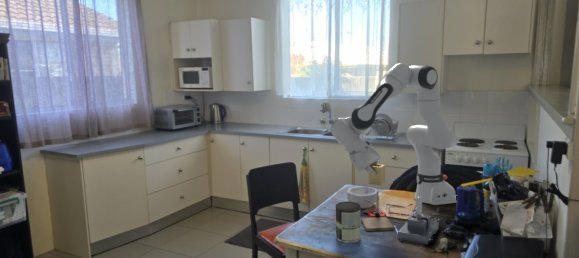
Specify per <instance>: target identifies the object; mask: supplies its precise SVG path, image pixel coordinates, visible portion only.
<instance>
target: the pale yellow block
mask: <svg viewBox="0 0 579 258" xmlns="http://www.w3.org/2000/svg"><path fill="white" fill-rule="evenodd" d="M370 167H371V169H373V170H375V171H376V172H377V174H376V175H375V176H372V174H371V173H369V172H368V184H369V185H374V186H382V185H383V184H385V183H386V164H382V163H379V164H375V163H373V164H371V165H370Z"/></svg>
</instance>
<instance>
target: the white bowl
mask: <svg viewBox="0 0 579 258" xmlns="http://www.w3.org/2000/svg"><path fill="white" fill-rule="evenodd" d="M346 191H347V192H346V193H347V195H346V196H347V197H346V198H347V202H355V203H358V204H360V206H361V208H360V209H369V208H372V207H373V205H374V204H376V196H377V191H378V189H376V188H374V187H371V186H370V187H369V186H354V187H351V188H349V189H348V190H346Z"/></svg>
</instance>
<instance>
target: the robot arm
mask: <svg viewBox="0 0 579 258" xmlns="http://www.w3.org/2000/svg"><path fill="white" fill-rule="evenodd" d="M438 75H439V74H438V72H437V70H436V68H435V67H433V66H430V65H421V64H420V65H419V64H414V65H408V64H406V63H403V62H399V63H395V64H394V65H393V66H392V67H391V68H389V70H388V71H386V73H385V74H384V75H383V76H382V77H381V79H380V80H379V82H378V83H377V85H376V88H375V91H374V92H373V93H372V95H371V96H370V97H369V98H368V99H367V100H366V101H365V102H364V103H363V104H360V105H359V106H356V107H355V108H354V109H353V111H352V112H351V116H349V117H338V118H336V119H335V120H334V122H333V123H332V125H331V127H330V133H331V134H332V136H333V137H334V139H335V140H336V141H337V142H338V144H339V145H341V146H342V147H343V148H344V150H345V152H346V153H347V154H348V155H349V160H350V162H351V164H353V166H354V168H355V169H356V170H357V171H358V172H359V173H360V172H363V171H364V170H365V171H366V172H368V174H369V173H371V174H372V176H375V175H376V174H377V172H376V171H375V170H373V169H371V167H370V165H371V164H373V163H375V164H380V162H379V161H380V160H381V159H382V157H381V155H380V153H379V152H378V151H377V150H376V149H375V148H374V146H372V143H371V142H370V141H369V140H364V139H362V137H364V136H366V135H367V134H368V133H369V132H370V130H371V128H372V126H373V124H374V123H375V120H376V116H377V113H378V111H379V110H380V108H382V106H383V105H384V104H385V102H386V101H393V100H395V99H396V98H398V96H399V95H401V93H402V92H403V90H404V89H405V88H409V89H416V90H417V95H416V98H417V99H416V101H417V114H418V116H419V118H420V119H422V120H423V121H424V123H425V124H413V125H411V126H409V127H408V129H407V130H406V139H407V141H408V142H409V143H410V144H411V146H412V147H413V149H414V151H415V154H416V157H417V172H416V183H417V185H416V190H415V193H414V194H415V195H414V200H415V201H416V197H418V196H420V197H422V204H430V205H433V206H439V205H447V204H455V203H456V196H457V194H456V190H455V188H454V187H453V186H452V185H451V184H449V182H447V181H445V180H447V179H448V176H447V175H446V174H443V173H442V172H441V170H442V169H441V163H442V161H441V158H440V156H439V154H437V153H436V152H435V151H434V149H441V150H444V149H450V148H452V147H453V146H454V144H455V141H456V135H455V133H454V131H453V130H452V129H451V128H450V126H448V125H447V123H446V122H445V120H444V117H443V114H442V107H441V106H442V103H441V91H440V85H439V81H438V78H439V77H438ZM433 148H434V149H433ZM456 204H457V203H456Z"/></svg>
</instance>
